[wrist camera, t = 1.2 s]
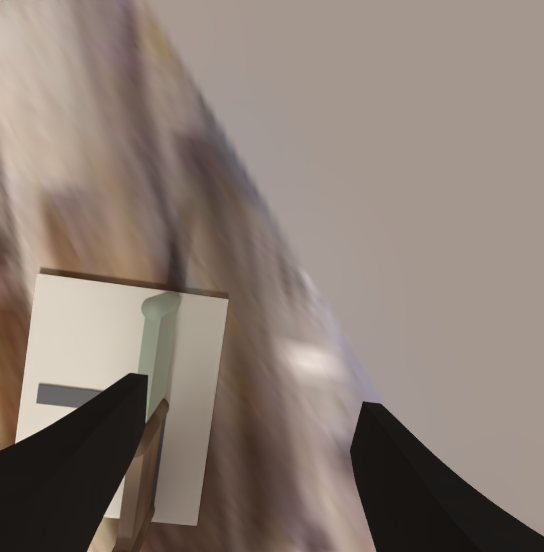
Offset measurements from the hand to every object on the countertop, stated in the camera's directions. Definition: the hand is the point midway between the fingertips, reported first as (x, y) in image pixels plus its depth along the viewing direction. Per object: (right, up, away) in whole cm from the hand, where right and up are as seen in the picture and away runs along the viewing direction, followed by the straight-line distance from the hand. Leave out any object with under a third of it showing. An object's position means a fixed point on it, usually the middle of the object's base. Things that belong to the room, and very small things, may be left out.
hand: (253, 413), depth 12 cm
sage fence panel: (-6, 0, +11) cm, 12 cm away
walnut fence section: (-7, -7, +11) cm, 15 cm away
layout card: (-9, -4, +11) cm, 15 cm away
